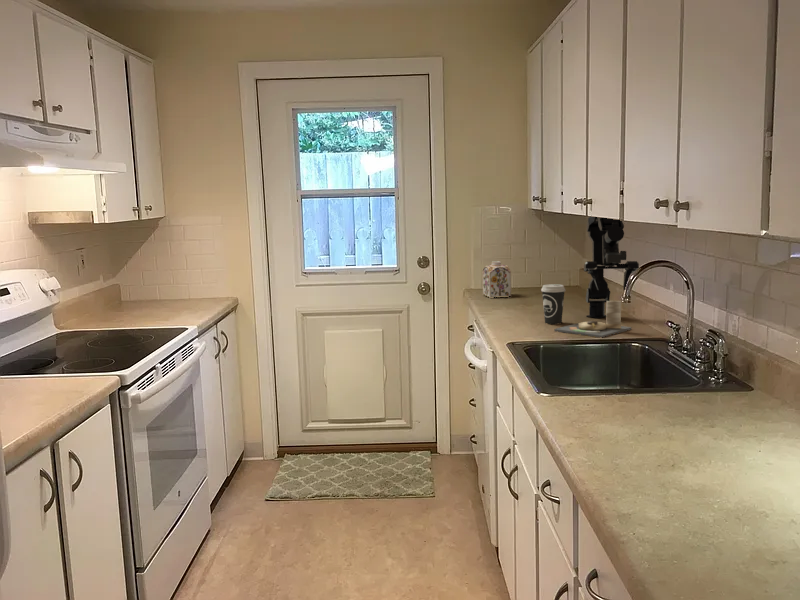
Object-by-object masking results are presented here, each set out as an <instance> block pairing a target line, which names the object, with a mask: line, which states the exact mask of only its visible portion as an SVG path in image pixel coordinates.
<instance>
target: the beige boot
mask: <svg viewBox="0 0 800 600" xmlns="http://www.w3.org/2000/svg"><path fill="white" fill-rule="evenodd" d="M605 303H606V305H605V309H606V311H605V315H606V317H605V319H606V320H605V321H606V323H605V322H601V321H596V320H589V321H582V322H578V323H579V329H582V330H604V329H606V328H621V326H622V320H621V318H622V301H621V300H609V301H606V302H605Z"/></svg>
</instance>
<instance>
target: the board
mask: <svg viewBox="0 0 800 600" xmlns="http://www.w3.org/2000/svg"><path fill="white" fill-rule="evenodd" d="M579 323H580V322H578V323H572V324H570V325H564V326H561V327H557V328H554V332H557V331H558V332H559V333H565V334H571V333H572V335H578V334H581V335H580V336H585V335H588V336H587V337H593V336H595V337H594V338H600V337H603V338H606V337H609V336H608V335H610V336H612V335H611V334H613V335H616V334H615V333H617V334H620V333H623V332H627V330H628V331H630V330H632V327H631V326H623V325H621V328H606V329H604V330H582V329H579ZM619 332H620V333H619ZM605 336H606V337H605Z"/></svg>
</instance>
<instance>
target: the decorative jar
mask: <svg viewBox="0 0 800 600" xmlns="http://www.w3.org/2000/svg"><path fill="white" fill-rule="evenodd" d="M511 273H512V271H511V269H510V268H509V266H508V265H506V264H502V262H501V261H498V260H497V261H495V260H494V261H491V264H488V265H485V266H484V267H483V270H482V295H483V294H485V295H487V296H489V297H496V296H511V297H512V274H511Z"/></svg>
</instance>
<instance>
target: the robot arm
mask: <svg viewBox="0 0 800 600" xmlns="http://www.w3.org/2000/svg"><path fill="white" fill-rule="evenodd" d="M624 227H625V225H624V222H623V220H622V221H620V220H613V219H607V218H597V217H591V216H589V217H588V218H587V221H586V232H587V235H588V236H587V237H588V238H589V239H590V240H591V242H592V248H591V249H592V251H591V252H592V256H591V257H592V258H591V259H592V261H591V260H589V261H586V262H585V263H584V265H583V272H587V274H589V275H590V276H591V280H590V281H589V283H588V288H587V289H586V293H585V294H586V295H585V302H586V303H587V304H589V309H588V310H589V314H588V315H586V318H595V319H602V318H606V311H605V309H606V305H605V303H606V301H610V298H611V297H610V296H611V290H610V288H609V284H608V282H607V281H606V279H605V278H604V277H605V276H604V275H605V274H604V273H605V270H624V272H623V284H622V285H623V286H622V287H623V291H625V290H626V289H625V287H626V288H627V285H628V281H629V279H630V276H631V275H632V274H634V273H635V272H637V271H638V270H639V269H640V264H639V261H637V260H636V261H635V260H634V261H631V260H629V261H628V260H627V251H626V250H620V248H619V247H620V245H619V243H620V242H621V241H622V239H623V238H624V237H625V232H624ZM622 261H626V262H625V263H622ZM638 268H639V269H638ZM637 269H638V270H637ZM636 270H637V271H636ZM626 284H627V285H626Z"/></svg>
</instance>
